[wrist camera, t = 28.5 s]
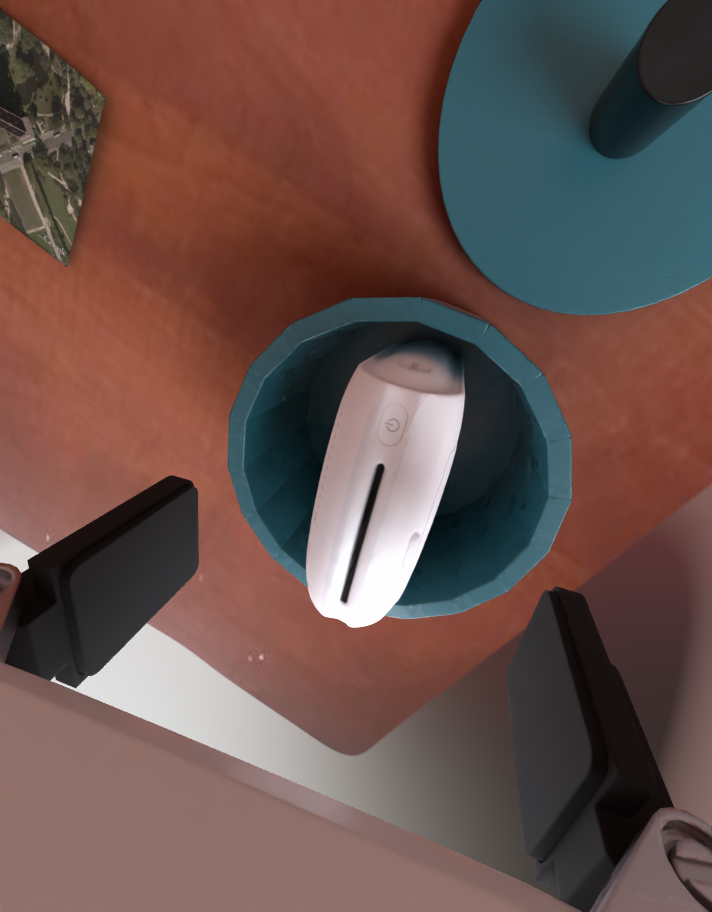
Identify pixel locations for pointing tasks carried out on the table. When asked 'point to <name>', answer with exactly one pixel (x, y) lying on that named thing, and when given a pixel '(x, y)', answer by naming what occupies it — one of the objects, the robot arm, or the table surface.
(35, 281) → the table surface
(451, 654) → the table surface
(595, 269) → the lid
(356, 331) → the pot
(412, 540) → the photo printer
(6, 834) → the robot arm
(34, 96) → the eiffel tower figurine
